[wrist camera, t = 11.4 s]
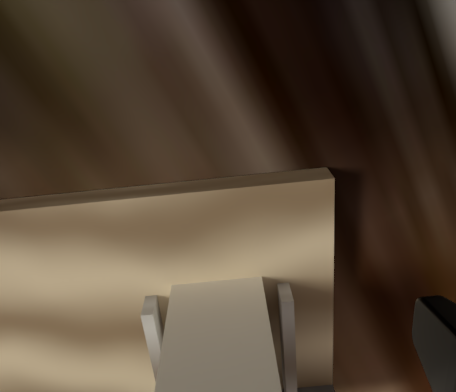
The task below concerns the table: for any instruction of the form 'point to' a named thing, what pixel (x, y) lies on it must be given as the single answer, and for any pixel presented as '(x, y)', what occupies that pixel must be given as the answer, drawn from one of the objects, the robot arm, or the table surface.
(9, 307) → the flat beige panel
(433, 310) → the robot arm
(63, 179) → the table surface
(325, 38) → the table surface
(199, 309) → the carton
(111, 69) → the table surface
